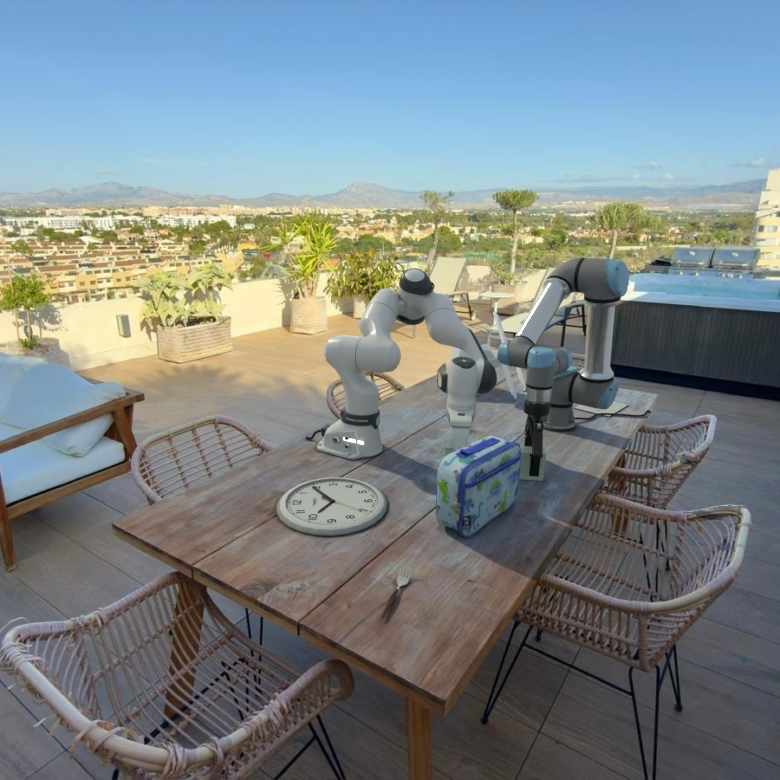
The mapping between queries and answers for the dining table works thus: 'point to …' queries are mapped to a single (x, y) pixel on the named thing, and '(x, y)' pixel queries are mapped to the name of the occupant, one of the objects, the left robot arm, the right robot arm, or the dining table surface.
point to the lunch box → (477, 484)
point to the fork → (401, 582)
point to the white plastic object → (495, 358)
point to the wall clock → (331, 506)
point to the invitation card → (612, 409)
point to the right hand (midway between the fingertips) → (530, 465)
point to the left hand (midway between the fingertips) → (458, 453)
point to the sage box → (523, 462)
